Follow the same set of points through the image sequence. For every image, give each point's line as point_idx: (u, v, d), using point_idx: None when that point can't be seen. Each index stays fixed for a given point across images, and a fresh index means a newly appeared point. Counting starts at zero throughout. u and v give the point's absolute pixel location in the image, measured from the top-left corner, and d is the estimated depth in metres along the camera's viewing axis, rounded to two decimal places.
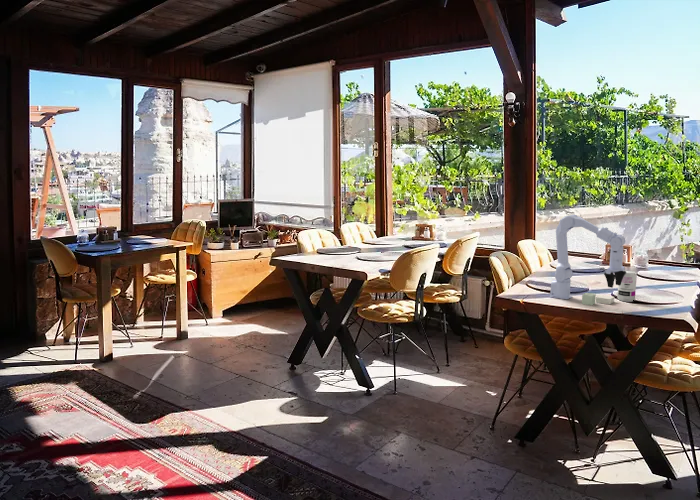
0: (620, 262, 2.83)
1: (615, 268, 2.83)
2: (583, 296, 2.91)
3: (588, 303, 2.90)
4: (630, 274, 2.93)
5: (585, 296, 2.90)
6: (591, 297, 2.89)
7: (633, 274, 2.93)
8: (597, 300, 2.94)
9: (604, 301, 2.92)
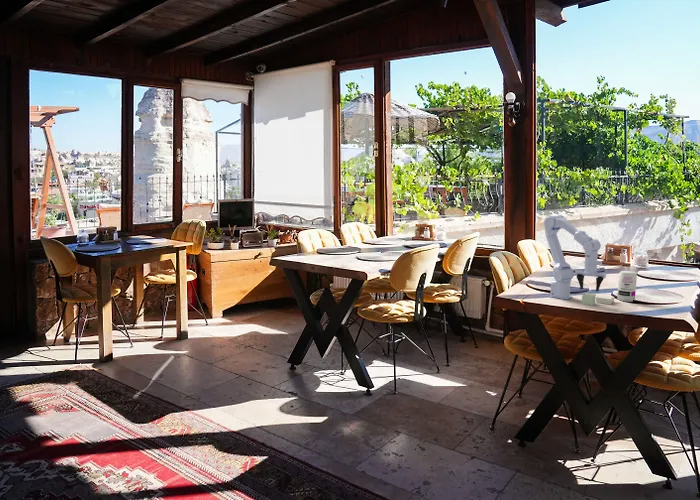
0: (587, 266, 2.88)
1: (584, 271, 2.90)
2: (583, 296, 2.91)
3: (588, 303, 2.90)
4: (630, 274, 2.93)
5: (585, 296, 2.90)
6: (591, 297, 2.89)
7: (633, 274, 2.93)
8: (597, 300, 2.94)
9: (605, 301, 2.92)
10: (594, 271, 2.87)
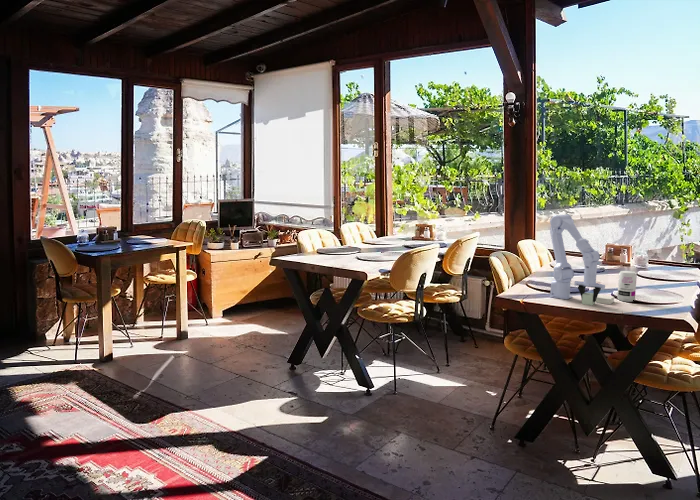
0: (586, 277, 2.89)
1: (583, 282, 2.91)
2: (583, 296, 2.91)
3: (588, 303, 2.90)
4: (630, 274, 2.93)
5: (585, 296, 2.90)
6: (591, 297, 2.89)
7: (633, 274, 2.93)
8: (597, 300, 2.94)
9: (605, 301, 2.92)
10: (593, 282, 2.88)
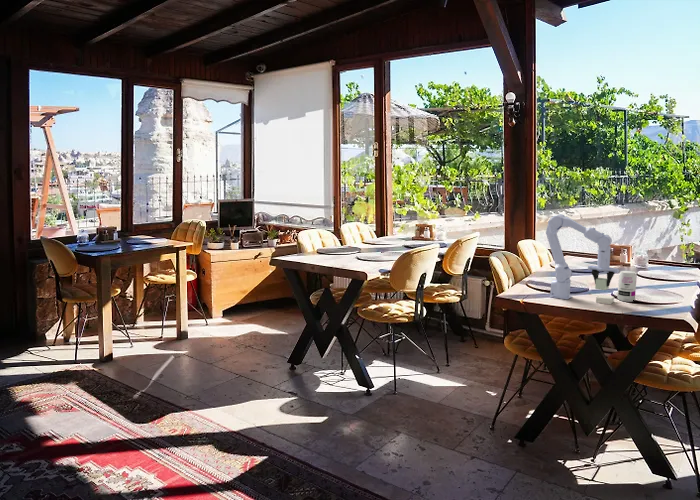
0: (600, 261, 2.90)
1: (597, 266, 2.92)
2: (596, 281, 2.92)
3: (601, 288, 2.91)
4: (630, 274, 2.93)
5: (598, 281, 2.91)
6: (604, 281, 2.89)
7: (633, 274, 2.93)
8: (597, 300, 2.94)
9: (605, 301, 2.92)
10: (607, 266, 2.89)
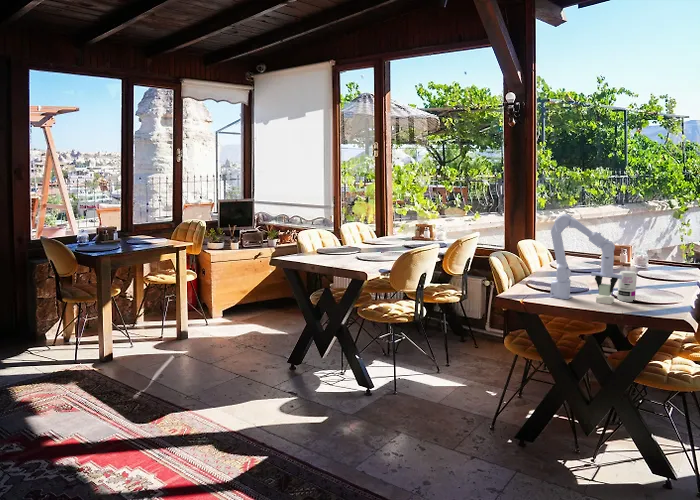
0: (603, 267, 2.91)
1: (600, 272, 2.94)
2: (600, 287, 2.93)
3: (605, 294, 2.92)
4: (630, 274, 2.93)
5: (602, 287, 2.93)
6: (608, 288, 2.91)
7: (633, 274, 2.93)
8: (597, 300, 2.94)
9: (605, 301, 2.92)
10: (610, 272, 2.90)
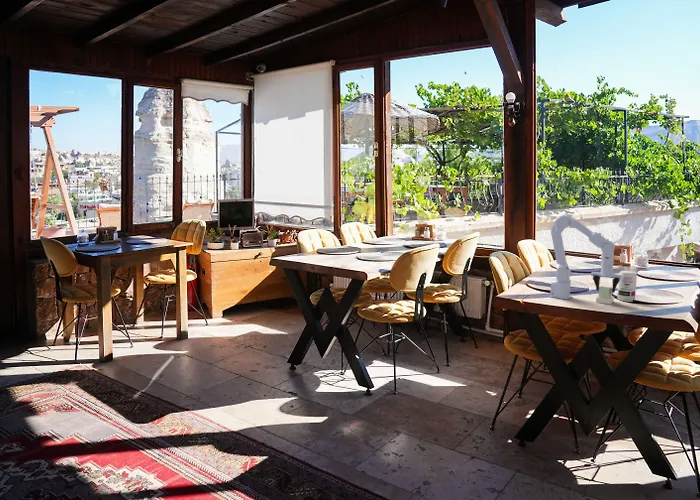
0: (603, 267, 2.91)
1: (600, 272, 2.94)
2: (600, 289, 2.94)
3: (605, 296, 2.92)
4: (630, 274, 2.93)
5: (602, 289, 2.93)
6: (608, 290, 2.91)
7: (633, 274, 2.93)
8: (597, 300, 2.94)
9: (605, 301, 2.92)
10: (610, 272, 2.90)
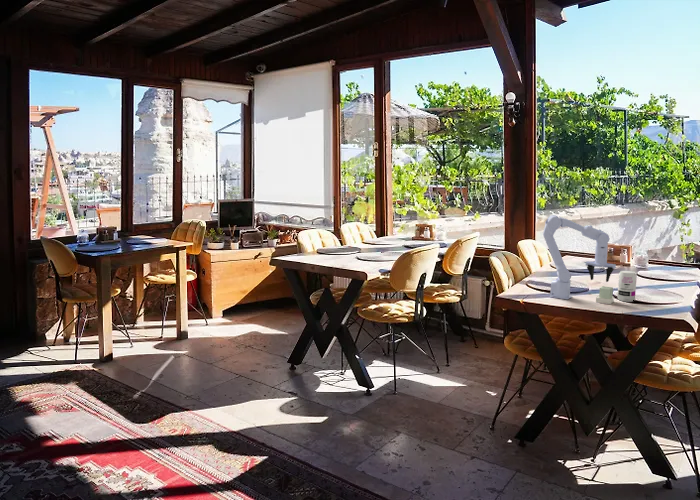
0: (597, 257, 2.97)
1: (594, 262, 2.99)
2: (600, 289, 2.93)
3: (605, 296, 2.92)
4: (630, 274, 2.93)
5: (602, 289, 2.93)
6: (608, 290, 2.91)
7: (633, 274, 2.93)
8: (597, 300, 2.94)
9: (605, 301, 2.92)
10: (604, 262, 2.96)
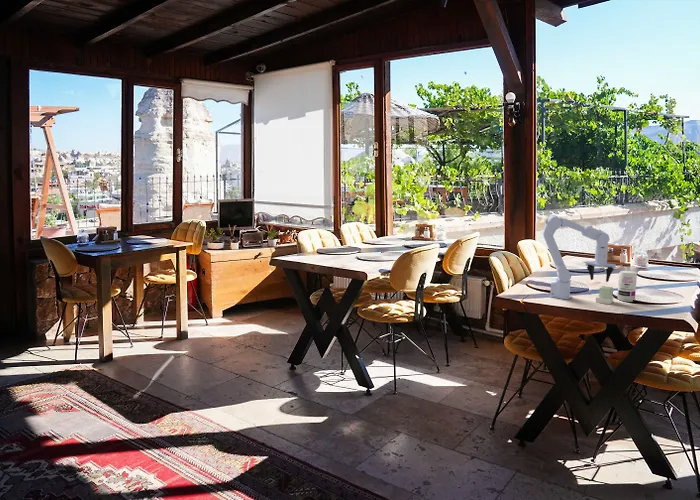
0: (597, 257, 2.97)
1: (594, 262, 2.99)
2: (600, 289, 2.94)
3: (605, 296, 2.93)
4: (630, 274, 2.93)
5: (602, 289, 2.93)
6: (608, 290, 2.91)
7: (633, 274, 2.93)
8: (597, 300, 2.94)
9: (605, 301, 2.92)
10: (604, 262, 2.96)
